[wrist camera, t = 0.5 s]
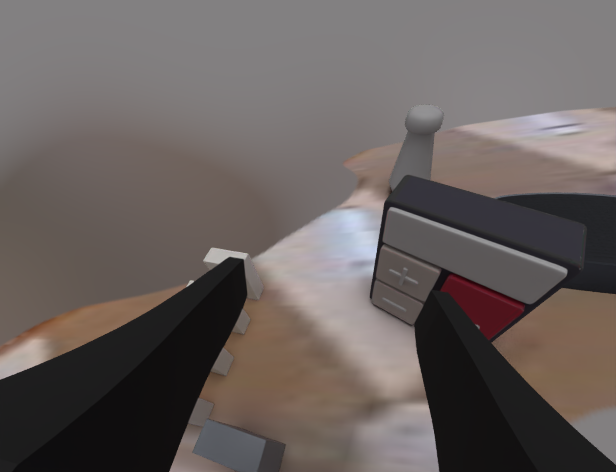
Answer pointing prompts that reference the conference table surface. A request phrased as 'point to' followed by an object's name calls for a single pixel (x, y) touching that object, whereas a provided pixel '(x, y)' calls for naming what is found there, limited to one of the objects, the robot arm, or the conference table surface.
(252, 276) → the tile
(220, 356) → the tile
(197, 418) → the tile
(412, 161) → the salt shaker
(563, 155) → the conference table surface
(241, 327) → the tile
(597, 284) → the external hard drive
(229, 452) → the tile
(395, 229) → the calculator
